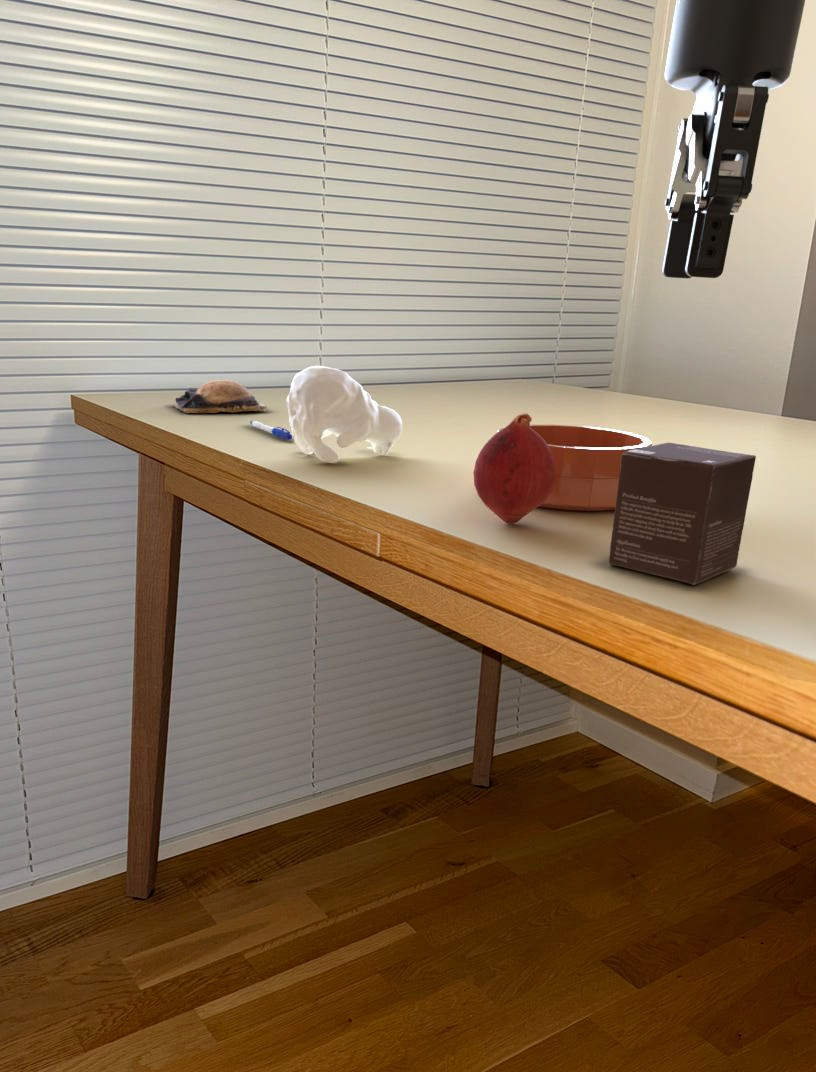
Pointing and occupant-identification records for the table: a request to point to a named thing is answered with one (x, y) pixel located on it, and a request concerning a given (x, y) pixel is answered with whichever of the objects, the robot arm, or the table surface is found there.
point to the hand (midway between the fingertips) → (689, 277)
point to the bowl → (586, 465)
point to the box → (680, 511)
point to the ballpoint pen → (273, 430)
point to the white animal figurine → (337, 414)
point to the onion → (515, 471)
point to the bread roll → (218, 398)
